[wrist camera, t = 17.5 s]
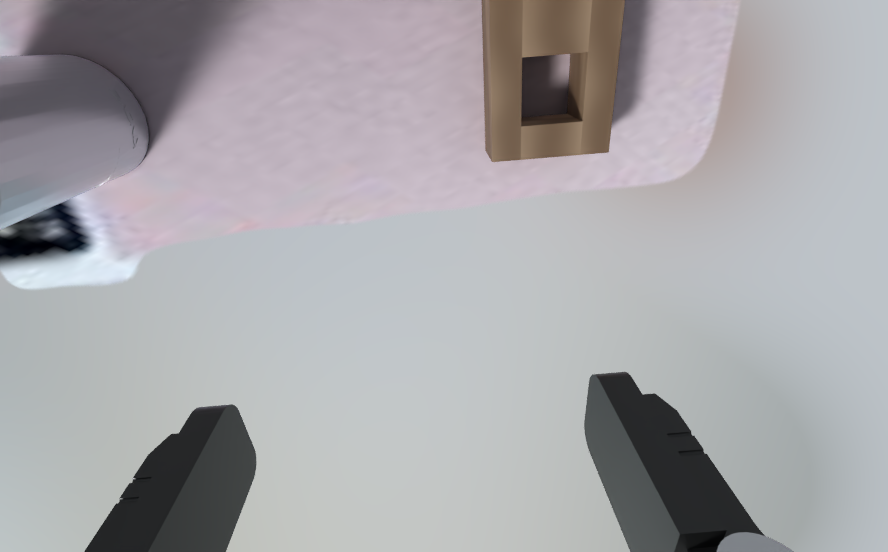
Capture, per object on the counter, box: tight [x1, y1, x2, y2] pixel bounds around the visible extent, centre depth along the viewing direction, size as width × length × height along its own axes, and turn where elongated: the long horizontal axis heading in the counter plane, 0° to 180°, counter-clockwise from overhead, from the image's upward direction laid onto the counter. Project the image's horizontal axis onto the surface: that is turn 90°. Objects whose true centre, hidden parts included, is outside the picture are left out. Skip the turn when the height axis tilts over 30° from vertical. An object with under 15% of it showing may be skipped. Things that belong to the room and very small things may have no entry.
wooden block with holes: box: [482, 0, 625, 162], centre depth 31 cm, size 9×19×4 cm, turn 4°
